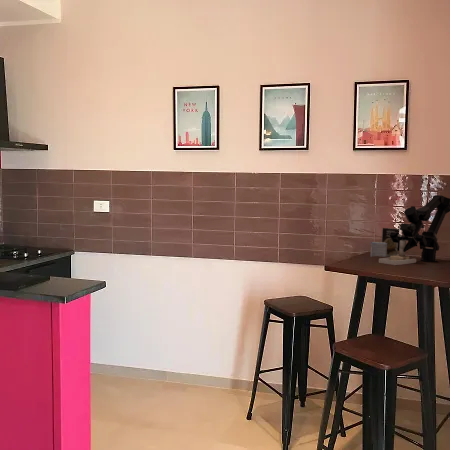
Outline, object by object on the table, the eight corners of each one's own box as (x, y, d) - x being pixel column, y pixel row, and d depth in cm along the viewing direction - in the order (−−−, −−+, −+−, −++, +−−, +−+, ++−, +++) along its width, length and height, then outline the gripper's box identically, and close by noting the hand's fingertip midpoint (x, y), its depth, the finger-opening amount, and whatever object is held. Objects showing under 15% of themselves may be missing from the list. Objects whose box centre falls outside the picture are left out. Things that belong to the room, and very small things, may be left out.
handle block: (397, 260, 273) (399, 239, 272) (408, 262, 268) (410, 241, 267) (390, 261, 268) (391, 240, 267) (401, 263, 263) (402, 241, 263)
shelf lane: (398, 262, 277) (399, 256, 277) (416, 265, 269) (416, 258, 269) (378, 264, 265) (378, 258, 265) (395, 267, 257) (396, 261, 257)
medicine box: (384, 257, 293) (385, 242, 292) (386, 259, 289) (387, 243, 288) (370, 257, 294) (370, 241, 293) (371, 258, 289) (372, 242, 289)
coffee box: (380, 256, 298) (382, 228, 296) (380, 255, 304) (381, 227, 303) (397, 257, 296) (399, 229, 294) (396, 256, 302) (398, 228, 301)
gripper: (392, 216, 277) (379, 238, 271) (425, 219, 263) (412, 242, 257) (399, 231, 283) (386, 252, 277) (432, 234, 269) (419, 257, 263)
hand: (400, 250), depth 268 cm, fingers closed on handle block, 3 cm apart
